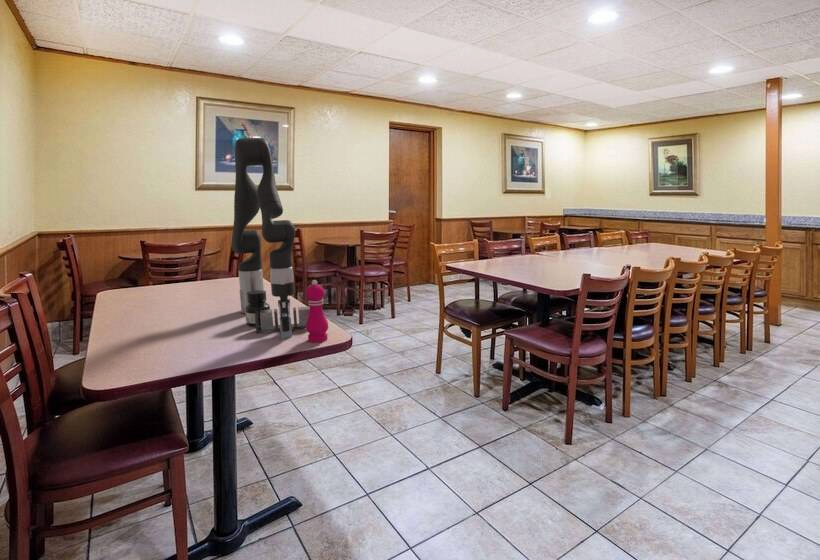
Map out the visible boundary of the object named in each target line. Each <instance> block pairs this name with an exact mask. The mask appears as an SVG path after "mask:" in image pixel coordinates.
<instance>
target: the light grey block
mask: <svg viewBox="0 0 820 560" xmlns="http://www.w3.org/2000/svg"><path fill="white" fill-rule="evenodd" d="M283 316H287V314H284V315H283ZM279 323H280V324H279V325H280V328H281V331H280V337H281V339H290V338H289V337H292V338H293V333H292V331H293V330H292V329H291V324H292V318H291V313H290V314H289V331H288V332H283V330H282V321H281V315H280V314H279Z"/></svg>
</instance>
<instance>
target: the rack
mask: <svg viewBox="0 0 820 560" xmlns="http://www.w3.org/2000/svg"><path fill="white" fill-rule="evenodd" d="M292 311H293V314H292V315H293V323H291V329H292V331H293V330H294V329H297V330H306V329H305V328H306V323H307V320H308V317H309V313H310V307H309V305H308V306H298V307H292ZM297 312H298V320H297ZM273 314H274V315H273ZM278 315H279V313H278V308H274V309H272V308H270V310H260V321H261V326H260V325H259V313H258V311H255V324H256V326H255V334H261V333H262V334H263V333H273V332H281V328H280V324H279V316H278ZM294 331H295V330H294Z"/></svg>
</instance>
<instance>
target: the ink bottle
mask: <svg viewBox="0 0 820 560" xmlns="http://www.w3.org/2000/svg"><path fill="white" fill-rule="evenodd" d="M247 301H248V303H249V304H248V305H247V306H246V307H245V313H244V314H245V323H246V325H247V326H251V327H256V324H255V311H258V313H259V325H260V327H261V321H260V310H270V309H271V305H270V304H269V303H268V302H267V291H266V290H255V291H249V292H247Z"/></svg>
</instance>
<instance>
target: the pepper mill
mask: <svg viewBox="0 0 820 560" xmlns="http://www.w3.org/2000/svg"><path fill="white" fill-rule="evenodd" d="M325 293H326V292H325V289H324V287H323V286H322V285H320V284H318V281H317V280H316V279H313V280H312V281H311V284H310V285H309V286H307V288H306V289H305V297H306V298H307V299H308V300H307V305H308V306H309V308H310V313H309V317H308V320H307V323H306V329H305V330H306V332H308V335H307V339H308V342H310V343H314V342H318V343H323V341H324V342H326V341H327V340H328V333H327V331H328V330H329V323H328V320H327V317H326V316H325V314H324V310H323V305H324V299H323V298H324V296H325Z"/></svg>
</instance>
